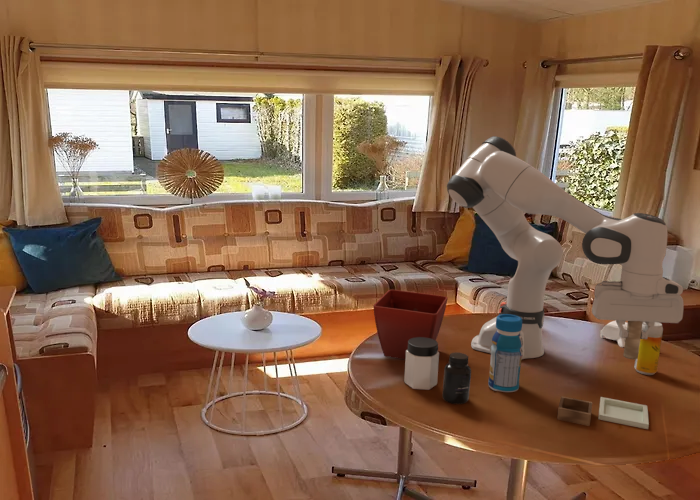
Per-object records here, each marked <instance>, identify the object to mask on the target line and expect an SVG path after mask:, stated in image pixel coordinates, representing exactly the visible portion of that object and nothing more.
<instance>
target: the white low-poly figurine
mask: <svg viewBox="0 0 700 500" xmlns="http://www.w3.org/2000/svg"><path fill="white" fill-rule="evenodd" d="M622 325H623V324H622ZM627 325H628V322H627V321H625V325H623V327H624V329H626V330H627ZM598 332H599V336H600V339H603V338H606V339H608V340H613V341H616V342H617V345H618V346H619V347H620V348H624V347H625V340H626V338H621V337H620V336H619V332H620V329H619V327H618V325H617V323H616V320H611V321H609V322H608V323H607V324H606V325H604V326H603V328H602V329H600V330H598Z"/></svg>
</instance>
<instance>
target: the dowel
mask: <svg viewBox="0 0 700 500" xmlns="http://www.w3.org/2000/svg"><path fill="white" fill-rule="evenodd" d="M627 323H628V325H627V331H628V332H629V333H628V338H626V340H625V347H623V348H624V349H623V357H624V358H625V359H627V360H635V359H638V353H639V345H640V338H641V331H642V324H643V322H642V321H627Z"/></svg>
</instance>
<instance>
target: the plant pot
mask: <svg viewBox="0 0 700 500" xmlns="http://www.w3.org/2000/svg"><path fill="white" fill-rule="evenodd" d="M382 295H383V296H381V297H380V298H379V299H378V300H377V301H376V302H375V303H374V304H373V315H374V322H375V327H376V333H377V336H378V341H379V344H380V347H381V351H382V353H383V356H385V357H387V358H393V359H400V360H405V358H406V350H408V341H409V339H411V338H415V337H426V338H431V339H433V340H435V341H437V338H438V335H439V332H440V331H441V327H442V323H443V319H444V316H445V312H446V308H447V304H448V300H449V299H448V297H447V296H444V295H437V294H430V293H423V292H422V293H421V292H415V291H406V290H399V289H388V290H387V291H386V292H385V293H384V294H382Z"/></svg>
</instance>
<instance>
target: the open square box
mask: <svg viewBox="0 0 700 500" xmlns="http://www.w3.org/2000/svg"><path fill="white" fill-rule="evenodd" d="M592 409H593V402H592V401H589V400H583V399H578V398H572V397H568V396H562V395H561V396H560V400H559V405H558V409H557V418H556V420H557V421H558V420H559V421H564V422H567V423H568V422H569V423H573V424H577V425H583V426H587V427H590V426H591V418H592Z"/></svg>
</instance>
